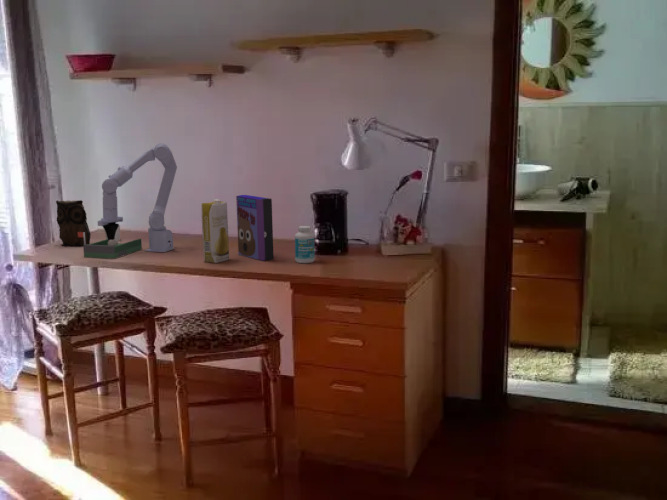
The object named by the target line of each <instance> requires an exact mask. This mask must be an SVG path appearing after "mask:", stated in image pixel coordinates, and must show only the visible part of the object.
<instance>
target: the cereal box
mask: <svg viewBox="0 0 667 500" xmlns="http://www.w3.org/2000/svg"><path fill="white" fill-rule="evenodd" d="M235 200H236V203H235V204H236V222H237V223H236V227H237V248H238V249H237V250H238V256H240V257H241V256H242V257H245V258H249V259H253V260H256V261H260V262H269V261H274V237H273V236H274V234H273V233H274V231H273V230H274V229H273V200H272V198H269V197H263V196H255V195H250V194H249V195H248V194H240V195H236V196H235Z"/></svg>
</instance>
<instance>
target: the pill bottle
mask: <svg viewBox="0 0 667 500" xmlns="http://www.w3.org/2000/svg"><path fill="white" fill-rule="evenodd" d="M311 230H312V228H311V226H309V225H300V226H298V232H296V233H295V235H294V257H295V258H294V261H295V262H296V263H299V264H309V263H310V264H311V263H314V262H315V258H316V255H315V251H316V250H315V234H314V233H313V232H312V231H311Z"/></svg>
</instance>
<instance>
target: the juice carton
mask: <svg viewBox="0 0 667 500" xmlns="http://www.w3.org/2000/svg"><path fill="white" fill-rule="evenodd" d="M200 206H201V207H200V213H201V215H200V216H201V230H202V231H201V233H202V249H203V250H202V251H203V260H204V261H203V262H205V263H207V262H208V263H212V264H213V263H214V264H218V263H221V262H225V261H228V260H230V247H229V246H230V245H229V223H228V222H229V220H228V219H229V218H228V203H227V201H221V200H220V199H217V198H216V199H213V201H210V202H202V203H201V204H200Z"/></svg>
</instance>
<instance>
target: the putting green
mask: <svg viewBox="0 0 667 500" xmlns="http://www.w3.org/2000/svg"><path fill="white" fill-rule="evenodd" d="M78 237H84V245H83V246H82V247H83V257H84V258H91V259H92V258H93V259H94V258H95V259H96V258H97V259H109V258H111V259H110V260H114V258H115V259H118V258H121V257H123V255H124V256H126V255H129V254H132V253H135V252H139V251H142V250H143V247H142V246H143V243H142V238H137V239H133V240H131V241H127V242H124V243H119V242H118V245H117V246H108V239H106V238H105V239H102V240H99V241H95V242H92V243H90V244H89V245H87V244H86V241H85V232H78ZM114 239H115V237H114ZM120 256H121V257H120ZM117 257H118V258H117Z"/></svg>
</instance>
